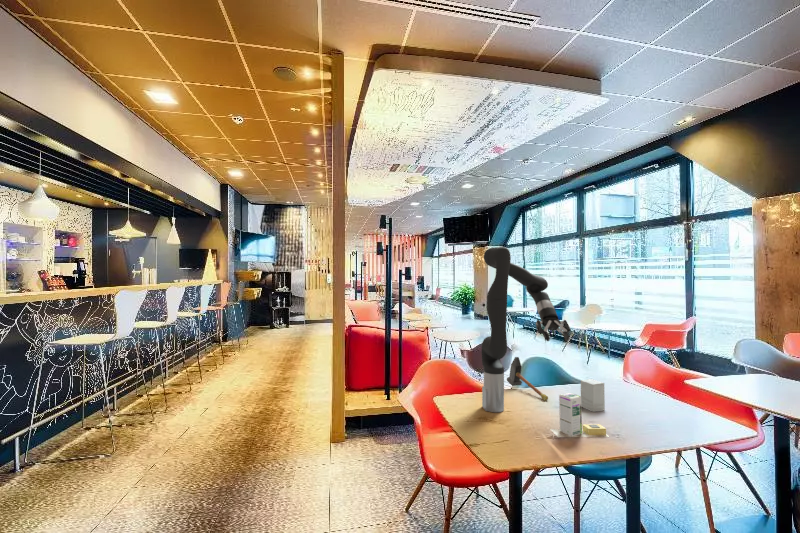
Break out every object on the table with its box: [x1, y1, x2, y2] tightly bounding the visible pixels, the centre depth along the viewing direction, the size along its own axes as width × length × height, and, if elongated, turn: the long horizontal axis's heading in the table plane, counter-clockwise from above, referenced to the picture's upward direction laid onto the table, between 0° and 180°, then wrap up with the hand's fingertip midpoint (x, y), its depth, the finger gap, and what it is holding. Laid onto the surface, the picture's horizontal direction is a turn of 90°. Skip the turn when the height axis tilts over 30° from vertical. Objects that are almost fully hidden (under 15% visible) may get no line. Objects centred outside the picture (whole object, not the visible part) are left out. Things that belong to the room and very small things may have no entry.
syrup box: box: [558, 392, 583, 438], centre depth 142 cm, size 6×6×14 cm
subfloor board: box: [549, 428, 610, 438], centre depth 142 cm, size 20×14×1 cm
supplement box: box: [580, 378, 606, 413], centre depth 172 cm, size 7×7×13 cm
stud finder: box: [582, 423, 607, 435], centre depth 142 cm, size 7×4×3 cm, turn 92°
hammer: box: [506, 356, 549, 401], centre depth 196 cm, size 6×16×30 cm
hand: (557, 340), depth 162 cm, fingers open, 8 cm apart
